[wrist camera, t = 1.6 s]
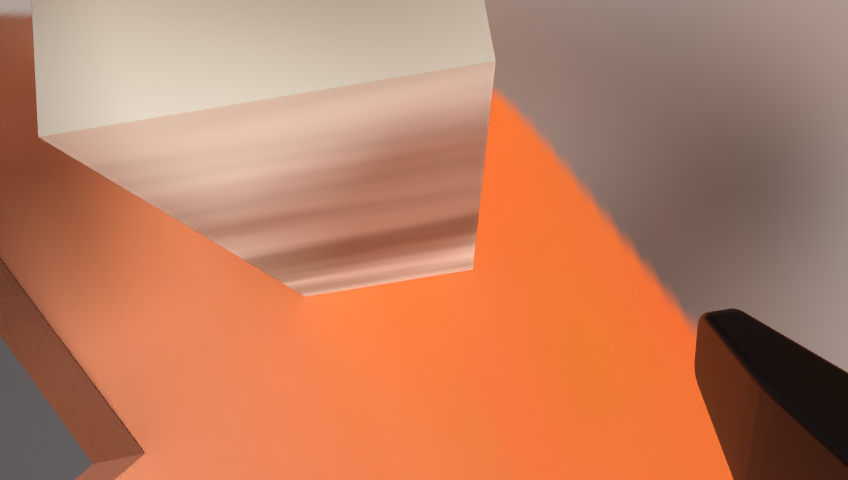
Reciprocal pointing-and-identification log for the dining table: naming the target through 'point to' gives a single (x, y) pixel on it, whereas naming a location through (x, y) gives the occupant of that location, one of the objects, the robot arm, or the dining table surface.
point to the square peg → (283, 124)
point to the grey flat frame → (51, 403)
